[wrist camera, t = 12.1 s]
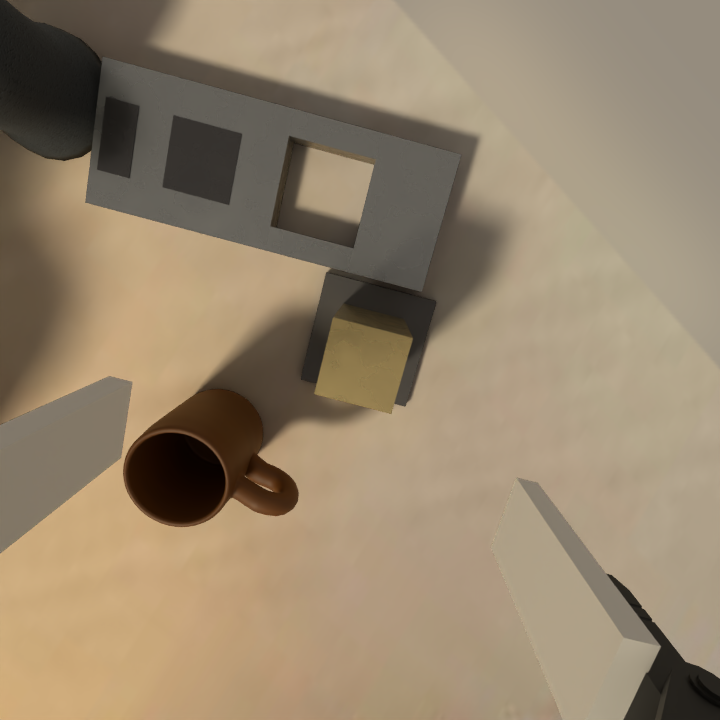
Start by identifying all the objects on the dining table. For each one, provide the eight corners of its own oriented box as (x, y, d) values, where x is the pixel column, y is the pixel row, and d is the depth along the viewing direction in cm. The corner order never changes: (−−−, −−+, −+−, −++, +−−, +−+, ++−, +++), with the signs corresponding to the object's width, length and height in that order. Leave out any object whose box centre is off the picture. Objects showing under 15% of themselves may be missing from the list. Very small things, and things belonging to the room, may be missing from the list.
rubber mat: (301, 377, 38) (300, 379, 38) (327, 272, 36) (326, 272, 36) (404, 404, 38) (405, 406, 38) (435, 301, 36) (436, 301, 36)
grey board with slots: (101, 205, 36) (84, 202, 34) (118, 68, 34) (102, 56, 32) (419, 290, 36) (421, 292, 34) (456, 160, 34) (461, 154, 32)
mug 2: (325, 422, 39) (309, 472, 30) (296, 497, 41) (273, 566, 32) (192, 373, 39) (135, 408, 29) (169, 450, 40) (107, 507, 31)
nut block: (328, 362, 37) (314, 394, 28) (343, 303, 36) (332, 317, 27) (387, 377, 37) (391, 413, 29) (404, 319, 36) (412, 338, 28)
